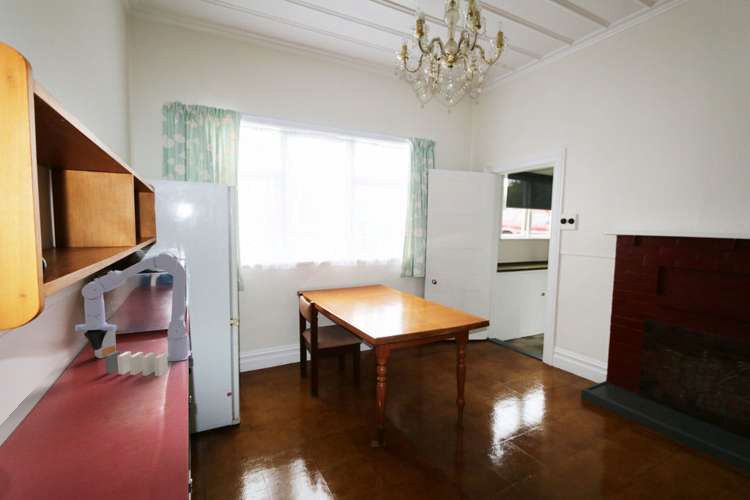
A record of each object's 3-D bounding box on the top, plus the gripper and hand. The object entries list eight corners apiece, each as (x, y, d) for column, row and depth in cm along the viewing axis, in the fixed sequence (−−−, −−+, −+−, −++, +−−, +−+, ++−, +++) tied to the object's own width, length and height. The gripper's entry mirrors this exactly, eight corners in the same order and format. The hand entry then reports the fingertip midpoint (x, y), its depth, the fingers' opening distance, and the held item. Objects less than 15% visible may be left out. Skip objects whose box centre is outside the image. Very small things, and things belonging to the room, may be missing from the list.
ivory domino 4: (155, 376, 124) (154, 357, 123) (163, 370, 128) (162, 352, 128) (159, 376, 124) (158, 357, 123) (167, 371, 128) (167, 353, 127)
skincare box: (100, 358, 138) (98, 330, 137) (94, 357, 140) (92, 329, 139) (117, 353, 144) (115, 326, 143) (111, 351, 146) (109, 324, 145)
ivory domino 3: (142, 375, 124) (141, 357, 124) (151, 370, 129) (150, 352, 128) (147, 375, 124) (146, 357, 123) (156, 370, 128) (155, 352, 128)
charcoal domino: (106, 373, 125) (105, 355, 125) (116, 368, 130) (115, 351, 129) (110, 374, 125) (109, 355, 125) (120, 368, 130) (119, 351, 129)
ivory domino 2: (130, 374, 125) (129, 356, 124) (139, 369, 129) (138, 352, 128) (135, 375, 124) (134, 356, 124) (144, 369, 129) (143, 352, 128)
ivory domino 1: (118, 374, 125) (117, 356, 124) (128, 369, 129) (127, 351, 129) (123, 374, 125) (121, 356, 124) (132, 369, 129) (131, 351, 129)
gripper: (122, 311, 130) (124, 345, 131) (85, 310, 130) (87, 344, 131) (107, 316, 123) (109, 352, 124) (68, 315, 123) (71, 351, 124)
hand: (97, 349), depth 127 cm, fingers closed
